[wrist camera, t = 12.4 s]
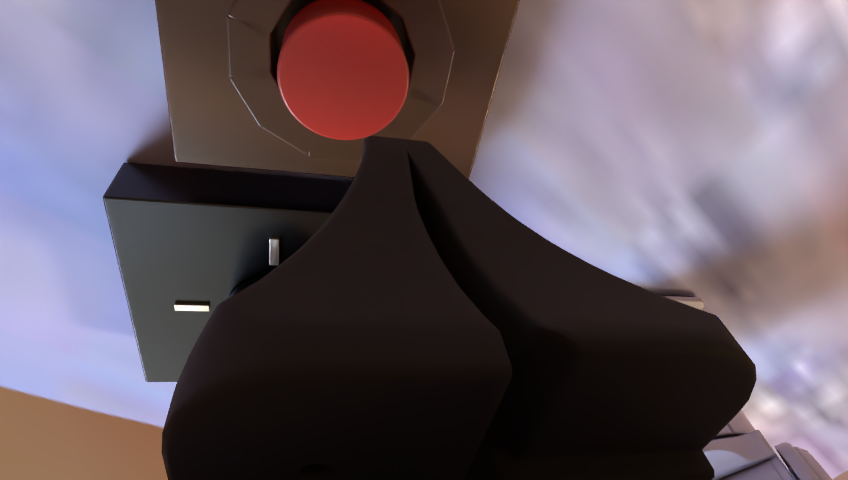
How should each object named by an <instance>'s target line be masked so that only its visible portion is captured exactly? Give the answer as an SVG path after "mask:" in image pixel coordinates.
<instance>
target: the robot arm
mask: <svg viewBox="0 0 848 480" xmlns="http://www.w3.org/2000/svg"><path fill="white" fill-rule="evenodd" d="M703 307H704V302H703V301H702V299H701V298H698V297H674V296H661V295H658V294H656V293H653V292H650V291H648V290H646V289H643V288H641V287H639V286H636V285H634V284H632V283H630V282H627V281H625V280H623V279H620V278H618V277H616V276H614V275H611V274H609V273H607V272H605V271H603V270H601V269H599V268H597V267H595V266H593V265H591V264H589V263H587V262H585V261H583V260H582V259H580V258H578V257H576V256H574V255H572V254H571V253H569V252H567V251H565V250H563V249H561V248H560V247H558V246H556V245H555V244H553V243H551V242H550V241H548V240H546V239H545V238H543V237H542V236H540V235H539V234H537V233H536V232H534V231H533V230H531V229H530V228H528V227H527V226H525V225H524V224H522V223H521V222H519V221H518V220H517V219H515V218H514V217H512V216H511V215H510V214H508V213H507V212H506V211H505V210H503V209H502V208H501V207H500V206H499V205H497V204H496V203H495V202H494V201H492V200H491V199H490V198H489V197H487V196H486V195H485V194H484V193H483V192H482V191H481V190H479V189H478V188H477V187H476V186H475V185H474V184H473V183H472V182H471V181H469V180H468V179H467V178H466V177H465V176H464V175H463V174H462V173H461V172H460V171H459V170H458V169H457V168H456V167H455V166H454V165H453V164H452V163H451V162H449V161H448V160H447V159H446V158H445V157H444V156H443V155H442V154H441V153H440V152H439V151H438V150H437V149H436V148H435V147H434V146H432V145H431V144H430V143H429V142H427V141H418V140H408V139H399V138H390V137H380V136H371V135H370V136H369V137H367V138H366V139H364V143H363V150H362V158H361V164H360V166H359V169H358V171H357V173H356V175H355V178H354V180H353V182H352V184H351V185H350V187H349V188H348V190H347V192H346V193H345V195H344V197H343V198H342V200H341V202H340V203H339V205H338V206H337V207H336V209H335V210H334V211H333V213H332V214H331V215H330V217H329V218H328V219H327V220H326V222H325V223H324V224H323V225H322V226H321V227H320V228H319V229H318V231H317V232H316V233H315V234H314V235H313V236H312V237H311V238H310V239H309V240H308V241H307V242H306V243H305V244H304V245H303V246H302V247H301V248H300V249H299V250H297V251H296V252H295V253H294V254H293V255H291V256H290V257H289V258H288V259H286V260H285V261H284V262H283V263H281V264H280V265H279V266H278V267H276V268H275V269H274V270H273V271H271V272H270V273H269V274H267V275H266V276H265V277H263V278H262V279H260V280H259V281H257V282H255V283H254V284H252V285H250V286H249V287H247V288H245V289H244V290H242V291H240V292H239V293H237V294H236V295H234V296H232V297H230V298H228V299H226V300H225V301H223V302H221V303H220V304H218V305H217V307H216V309H215V310H214V312H213V313H212V315H211V317H210V318H209V320H208V322H207V323H206V325H205V327H204V328H203V330H202V332H201V334H200V335H199V337H198V339H197V341H196V343H195V345H194V347H193V349H192V350H191V353H190V355H189V357H188V359H187V361H186V363H185V366H184V368H183V370H182V373H181V375H180V377H179V380H178V382H177V384H176V387H175V391H174V394H173V397H172V401H171V404H170V408H169V411H168V415H167V419H166V422H165V426H164V429H163V433H162V434H163V435H162V456H163V459H164V464H165V468H166V473H167V477H168V480H832V479H831V478H830V476H829V475H828V474H827V473H826V471H825V470H824V469H823V468H822V467H821V465H820V464H819V463H818V462H817V461H816V460H815V458H814V457H813V456H812V455H811V454H810V453H809V452H808V451H806V450H804V449H801V448H798V447H793V446H791V445H790V444H789V443H786V442H785V443H781V444H779V445H777V446H775V448H776V450H777V452H778V453H779V455H780V456H781V458H782V459H783V461H784V462H785V464H786V465H787V467H788V469H789V471H790V472H789V471H788V470H787V468H786V467H785V466H784V464H783V463H782V462H781V460H780V459H779V458H778V456H777V455H776V453H775V452H774V451H773V449H772V448H771V446H770V445H769V444H768V442H767V441H766V439H765V438H764V437H763V435H762V434H761V432H760V431H759V430H755V429H754V427H753V426H752V425H751V423H750V422H749V420H748V419H747V418H746V416H745V415H744V413H743V412H742V411H741V409H742V408H743V406H744V405H745V404H746V402H747V401H748V400H749V398H750V395H751V393H752V390H753V388H754V385H755V382H756V368H755V364H754V363H753V362H752V360H751V359H750V358H749V357H748V355H747V354H746V353H745V351H744V350H743V349H742V347H741V346H740V345H739V344H738V342H737V341H736V340H735V338H734V337H733V336H732V334H731V333H730V332H729V330H728V329H727V328H726V327H725V325H724V324H723V323H722V321H721V320H720V319H719V318H718V317H717V316H716V315H714V314H711V313H708V312H705V311H702V308H703ZM790 473H791V474H792V475H791V474H790ZM792 476H793V477H794V478H793V477H792Z"/></svg>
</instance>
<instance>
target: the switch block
mask: <svg viewBox="0 0 848 480" xmlns="http://www.w3.org/2000/svg"><path fill="white" fill-rule="evenodd" d="M314 1H316V0H155V4H156V12H157V20H158V28H159V37H160V45H161V53H162V61H163V69H164V77H165V85H166V93H167V101H168V109H169V117H170V125H171V133H172V141H173V149H174V158H175V161H176V162H183V163H195V164H207V165H218V166H230V167H241V168H253V169H264V170H276V171H287V172H299V173H310V174H322V175H334V176H345V177H355V175H356V173H357V171H358V169H359V166H360V164H361V158H362V150H363V143H364V139H366V138H367V137H369V136H367V137H364V138H360V139H355V140H338V139H331V138H328V137H324V136H322V135H319V134H317V133H315V132H313V131H311V130H309V129H308V128H306V127H305V126H304V125H302V124H301V123H300V122H299V121H298V120H297V119H296V118H295V117H294V116H293V115H292V114H291V112H290V111H289V110H288V108H287V107H286V105H285V103H284V101H283V99H282V97H281V94H280V91H279V87H278V82H277V64H278V59H279V55H280V50H281V46H282V41H283V37H284V34H285V31H286V29H287V27H288V25H289V23H290V22H291V20H292V19H293V18H294V16H295V15H296V14H297V13H298V12H299V11H300V10H301V9H303V8H304V7H305V6H307V5H308V4H310V3H312V2H314ZM362 1H365V2H367V3H369V4H371V5H372V6H374V7H375V8H377V9H378V10H379V11H381V12H382V13H383V14H384V15H385V16H386V17H387V18H388V20H389V21H390V22H391V23H392V25H393V27H394V28H395V30H396V32H397V34H398V36H399V39H400V42H401V45H402V48H403V51H404V54H405V57H406V60H407V64H408V69H409V89H408V93H407V97H406V100H405V102H404V105H403V106H402V108H401V110H400V112H399V113H398V114H397V116H396V117H395V118H394V119H393V120H392V121H391V122H390V123H389V124H388V125H387V126H386V127H384V128H383V129H382V130H380V131H378V132H377V133H375V134H372V135H371V136H380V137H390V138H399V139H408V140H418V141H427V142H429V143H430V144H431V145H432V146H434V147H435V148H436V149H437V150H438V151H439V152H440V153H441V154H442V155H443V156H444V157H445V158H446V159H447V160H448V161H449V162H451V163H452V164H453V165H454V166H455V167H456V168H457V169H458V170H459V171H460V172H461V173H462V174H463V175H464V176H465V177H466V178H467V179H468V180H469V177H470V173H471V170H472V166H473V163H474V159H475V156H476V152H477V149H478V145H479V142H480V138H481V135H482V131H483V128H484V124H485V121H486V117H487V114H488V110H489V107H490V103H491V100H492V96H493V93H494V89H495V86H496V82H497V79H498V75H499V71H500V68H501V64H502V61H503V57H504V54H505V50H506V47H507V43H508V40H509V36H510V33H511V29H512V26H513V22H514V19H515V15H516V12H517V8H518V5H519V1H520V0H362Z"/></svg>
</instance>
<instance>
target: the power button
mask: <svg viewBox="0 0 848 480" xmlns="http://www.w3.org/2000/svg"><path fill="white" fill-rule="evenodd" d="M277 82H278V87H279V91H280V94H281V97H282V99H283V101H284V103H285V105H286V107H287V108H288V110H289V111H290V112H291V114H292V115H293V116H294V117H295V118H296V119H297V120H298V121H299V122H300V123H301V124H302V125H304V126H305V127H306V128H308V129H309V130H311V131H313V132H315V133H317V134H319V135H322V136H324V137H328V138H331V139H338V140H355V139H360V138H364V137H367V136H370V135H372V134H375V133H377V132H378V131H380V130H382V129H383V128H384V127H386V126H387V125H388V124H389V123H390V122H391V121H392V120H393V119H394V118H395V117H396V116H397V114H398V113H399V112H400V110H401V108H402V106H403V105H404V102H405V100H406V97H407V93H408V89H409V69H408V64H407V60H406V57H405V54H404V51H403V48H402V45H401V42H400V39H399V36H398V34H397V32H396V30H395V28H394V27H393V25H392V23H391V22H390V21H389V20H388V18H387V17H386V16H385V15H384V14H383V13H382V12H381V11H379V10H378V9H377V8H375V7H374V6H372V5H371V4H369V3H367V2H365V1H362V0H316V1H314V2H312V3H310V4H308V5H307V6H305V7H304V8H303V9H301V10H300V11H299V12H298V13H297V14H296V15H295V16H294V18H293V19H292V20H291V22H290V23H289V25H288V27H287V29H286V31H285V34H284V37H283V41H282V46H281V50H280V55H279V59H278V64H277Z"/></svg>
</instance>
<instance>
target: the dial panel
mask: <svg viewBox="0 0 848 480" xmlns="http://www.w3.org/2000/svg"><path fill="white" fill-rule="evenodd" d="M351 184H352V182H349V181H338V180H326V179H314V178H302V177H290V176H278V175H267V174H255V173H243V172H231V171H219V170H207V169H196V168H184V167H172V166H160V165H148V164H136V163H123V165H122V166H121V168H120V170H119V171H118V173H117V175H116V176H115V178H114V179H113V181H112V183H111V184H110V186H109V188H108V189H107V191H106V192H105V194H104V196H103V200H104V204H105V209H106V213H107V217H108V221H109V226H110V230H111V234H112V239H113V243H114V247H115V251H116V256H117V260H118V264H119V268H120V273H121V277H122V281H123V286H124V290H125V294H126V298H127V303H128V307H129V311H130V315H131V320H132V324H133V328H134V333H135V337H136V341H137V345H138V350H139V354H140V358H141V362H142V367H143V371H144V375H145V380H146V382H178V380H179V377H180V375H181V373H182V370H183V368H184V366H185V363H186V361H187V359H188V357H189V355H190V353H191V350H192V349H193V347H194V345H195V343H196V341H197V339H198V337H199V335H200V334H201V332H202V330H203V328H204V327H205V325H206V323H207V322H208V320H209V318H210V317H211V315H212V313H213V312H214V310H215V309H216V307H217V305H218V304H220V303H221V302H223V301H225V300H226V299H228V298H229V296H230V294H231V293H232V292H233V291H234V290H235V289H236V288H237V287H238V286H239V285H241V284H243V283H245V282H247V281H249V280H252V279H255V278H261V277H265V276H266V275H267V274H269V273H270V272H271V271H273V270H274V269H275V268H276V267H278V266H279V265H280V264H281V263H283V262H284V261H285V260H286V259H288V258H289V257H290V256H291V255H293V254H294V253H295V252H296V251H297V250H299V249H300V248H301V247H302V246H303V245H304V244H305V243H306V242H307V241H308V240H309V239H310V238H311V237H312V236H313V235H314V234H315V233H316V232H317V231H318V229H319V228H320V227H321V226H322V225H323V224H324V223H325V222H326V220H327V219H328V218H329V217H330V215H331V214H332V213H333V211H334V210H335V209H336V207H337V206H338V205H339V203H340V202H341V200H342V198H343V197H344V195H345V193H346V192H347V190H348V188H349V187H350V185H351Z"/></svg>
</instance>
